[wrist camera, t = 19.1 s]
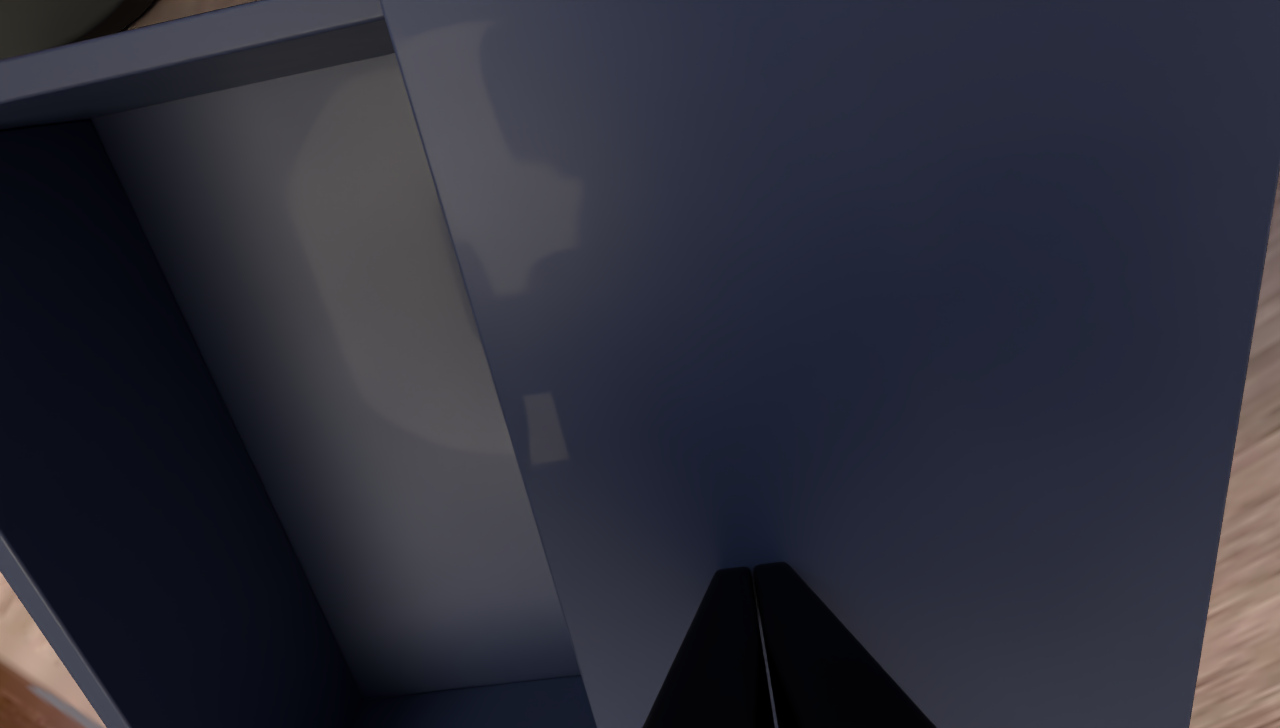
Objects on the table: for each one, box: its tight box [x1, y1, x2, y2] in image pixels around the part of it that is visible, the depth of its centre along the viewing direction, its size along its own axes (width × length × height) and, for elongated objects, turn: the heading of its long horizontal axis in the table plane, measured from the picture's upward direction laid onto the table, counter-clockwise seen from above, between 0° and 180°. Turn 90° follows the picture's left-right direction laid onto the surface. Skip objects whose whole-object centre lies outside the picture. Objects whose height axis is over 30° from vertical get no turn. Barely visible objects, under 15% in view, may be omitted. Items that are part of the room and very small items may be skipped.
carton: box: [0, 0, 597, 728], centre depth 12 cm, size 16×15×5 cm
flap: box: [379, 0, 1280, 728], centre depth 9 cm, size 8×15×1 cm, turn 11°
